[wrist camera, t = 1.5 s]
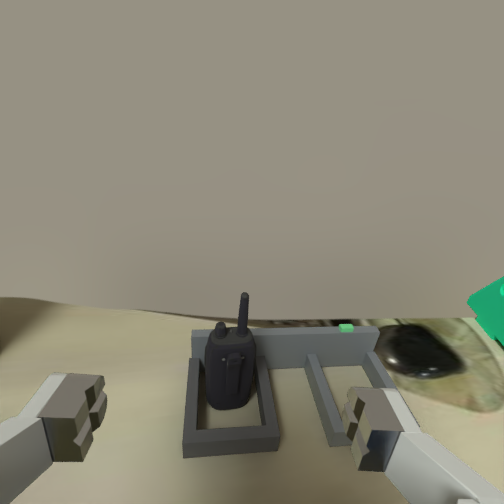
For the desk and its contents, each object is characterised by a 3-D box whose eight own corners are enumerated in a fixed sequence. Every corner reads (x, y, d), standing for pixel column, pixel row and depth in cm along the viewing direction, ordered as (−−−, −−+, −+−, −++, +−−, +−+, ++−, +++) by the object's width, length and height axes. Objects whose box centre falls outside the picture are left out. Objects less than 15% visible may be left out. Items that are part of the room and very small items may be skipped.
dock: (186, 457, 30) (184, 416, 27) (192, 364, 40) (191, 326, 37) (412, 440, 33) (434, 401, 30) (366, 358, 43) (379, 322, 40)
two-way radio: (248, 383, 38) (259, 284, 31) (255, 417, 34) (269, 312, 27) (203, 388, 37) (203, 286, 30) (205, 424, 33) (206, 317, 26)
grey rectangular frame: (183, 458, 30) (182, 443, 29) (189, 372, 39) (189, 358, 37) (277, 450, 31) (280, 436, 30) (262, 369, 40) (264, 355, 39)
